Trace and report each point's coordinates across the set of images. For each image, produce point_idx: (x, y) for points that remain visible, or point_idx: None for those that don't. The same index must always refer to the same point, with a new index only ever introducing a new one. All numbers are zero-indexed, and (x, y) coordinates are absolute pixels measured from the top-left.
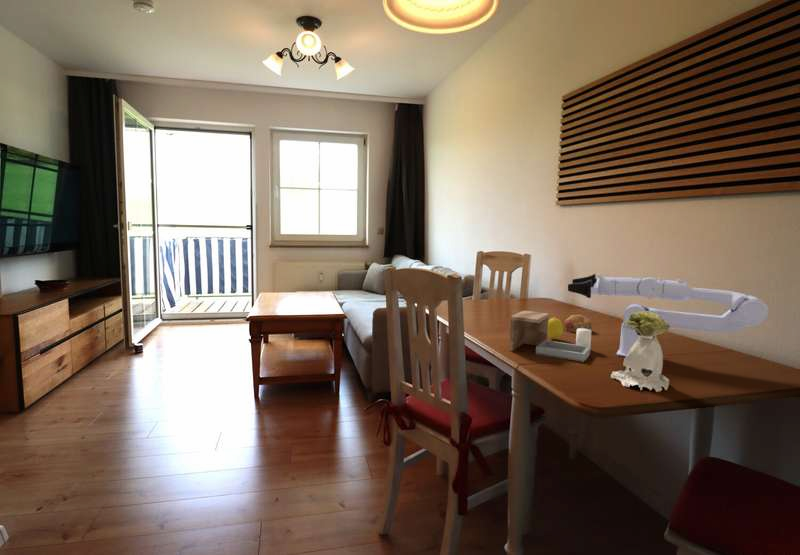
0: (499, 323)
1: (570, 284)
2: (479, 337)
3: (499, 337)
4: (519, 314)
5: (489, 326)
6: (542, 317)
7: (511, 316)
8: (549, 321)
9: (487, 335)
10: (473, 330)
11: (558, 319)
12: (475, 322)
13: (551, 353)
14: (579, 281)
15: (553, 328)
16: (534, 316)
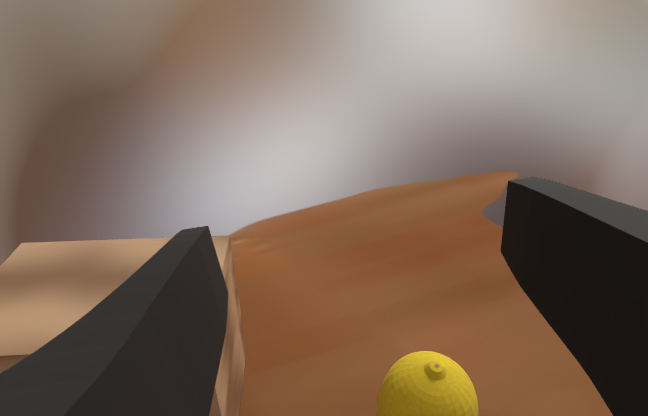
0: (476, 221)
1: (167, 244)
2: (236, 242)
3: (276, 277)
4: (91, 252)
5: (406, 217)
6: (22, 355)
7: (20, 245)
8: (397, 362)
9: (279, 248)
10: (315, 210)
11: (436, 395)
12: (419, 186)
13: None
14: (565, 253)
15: (379, 414)
16: (45, 313)
